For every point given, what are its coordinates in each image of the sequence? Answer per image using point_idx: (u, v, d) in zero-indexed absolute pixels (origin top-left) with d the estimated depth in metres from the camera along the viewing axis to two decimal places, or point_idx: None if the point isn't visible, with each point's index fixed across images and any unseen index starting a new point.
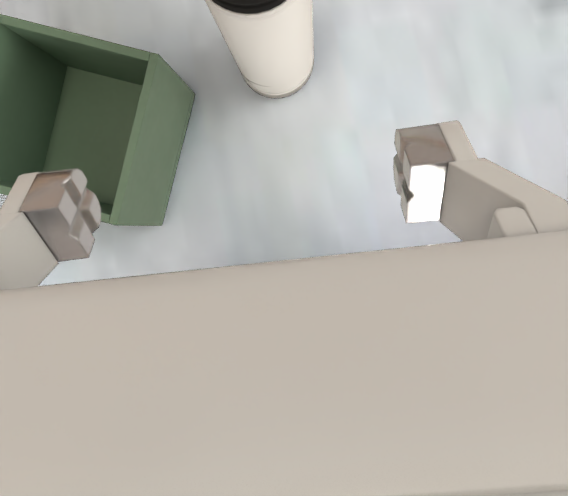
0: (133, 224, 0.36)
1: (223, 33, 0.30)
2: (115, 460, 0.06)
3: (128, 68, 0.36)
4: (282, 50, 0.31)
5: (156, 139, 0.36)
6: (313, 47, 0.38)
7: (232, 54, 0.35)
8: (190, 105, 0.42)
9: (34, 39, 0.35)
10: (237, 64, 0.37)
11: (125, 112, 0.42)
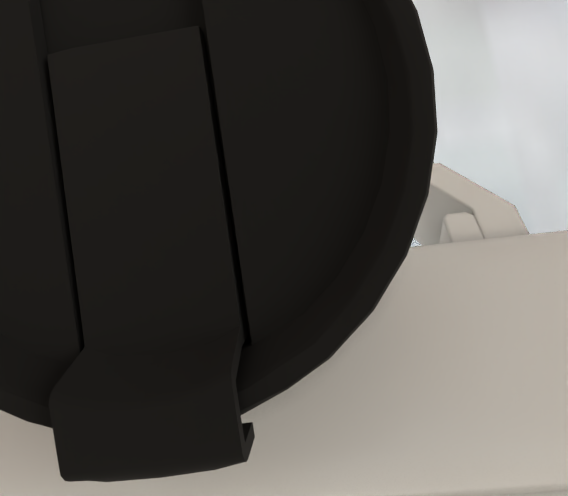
0: None
1: None
2: None
3: None
4: None
5: None
6: None
7: None
8: None
9: None
10: None
11: None
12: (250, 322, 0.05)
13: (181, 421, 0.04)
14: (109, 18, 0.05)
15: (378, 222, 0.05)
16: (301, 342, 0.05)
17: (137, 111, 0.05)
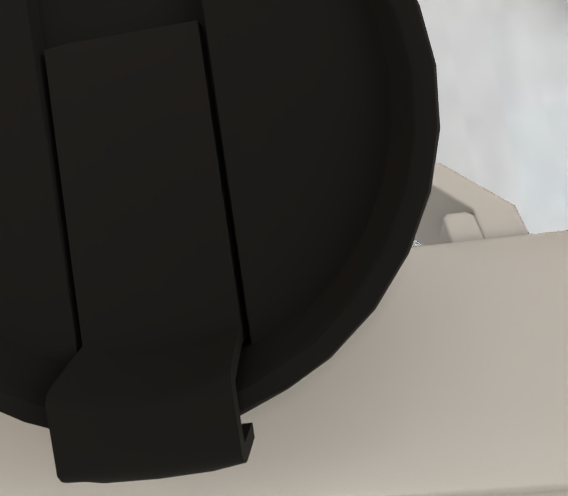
0: None
1: None
2: None
3: None
4: None
5: None
6: None
7: None
8: None
9: None
10: None
11: None
12: (250, 320, 0.05)
13: (180, 421, 0.04)
14: (108, 12, 0.05)
15: (380, 219, 0.05)
16: (302, 341, 0.05)
17: (135, 106, 0.05)
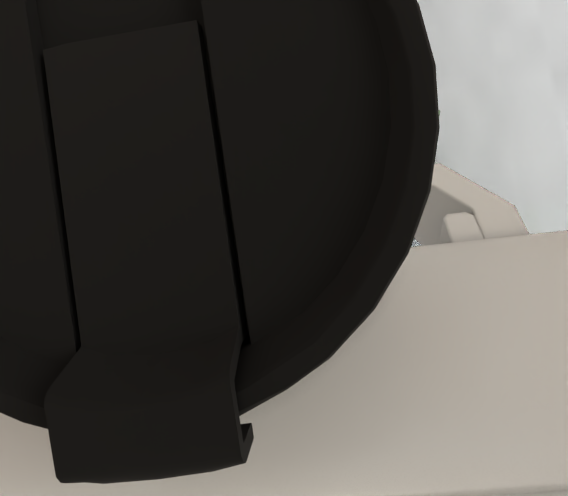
0: None
1: None
2: None
3: None
4: None
5: None
6: None
7: None
8: None
9: None
10: None
11: None
12: (249, 320, 0.05)
13: (179, 421, 0.04)
14: (106, 13, 0.05)
15: (379, 219, 0.05)
16: (301, 341, 0.05)
17: (134, 106, 0.05)
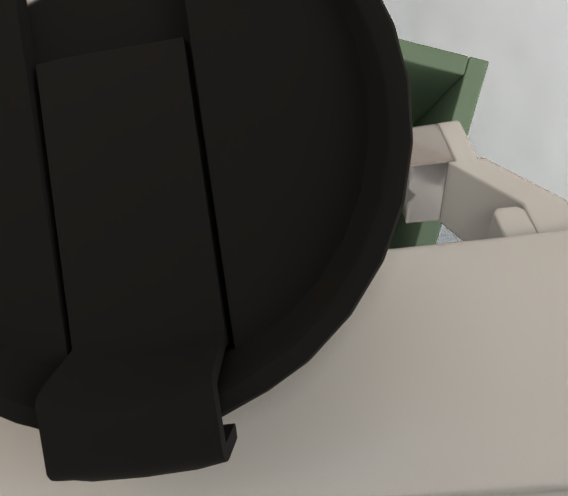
0: None
1: None
2: None
3: None
4: None
5: None
6: None
7: None
8: None
9: None
10: None
11: None
12: (234, 326, 0.05)
13: (164, 422, 0.04)
14: (97, 29, 0.06)
15: (356, 229, 0.05)
16: (281, 345, 0.05)
17: (123, 120, 0.05)
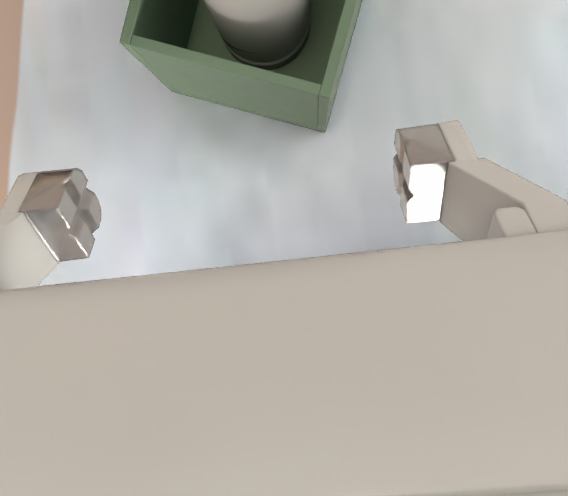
0: (328, 109, 0.29)
1: None
2: (115, 461, 0.06)
3: None
4: None
5: (358, 3, 0.29)
6: (309, 5, 0.31)
7: (208, 8, 0.28)
8: None
9: None
10: (216, 24, 0.30)
11: None
12: None
13: None
14: None
15: None
16: None
17: None
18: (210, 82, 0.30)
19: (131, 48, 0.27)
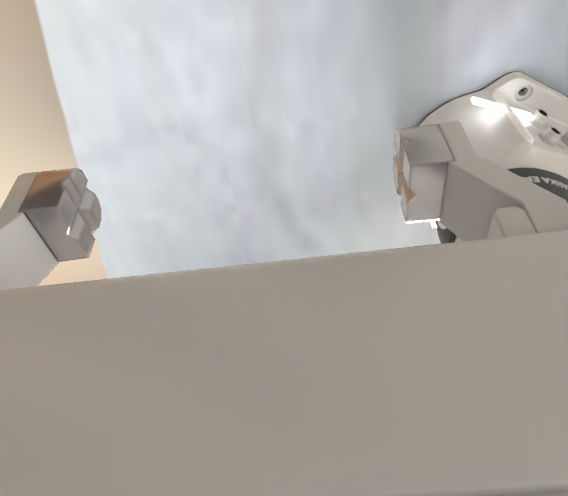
0: None
1: None
2: (115, 461, 0.06)
3: None
4: None
5: None
6: None
7: None
8: None
9: None
10: None
11: None
12: None
13: None
14: None
15: None
16: None
17: None
18: None
19: None
